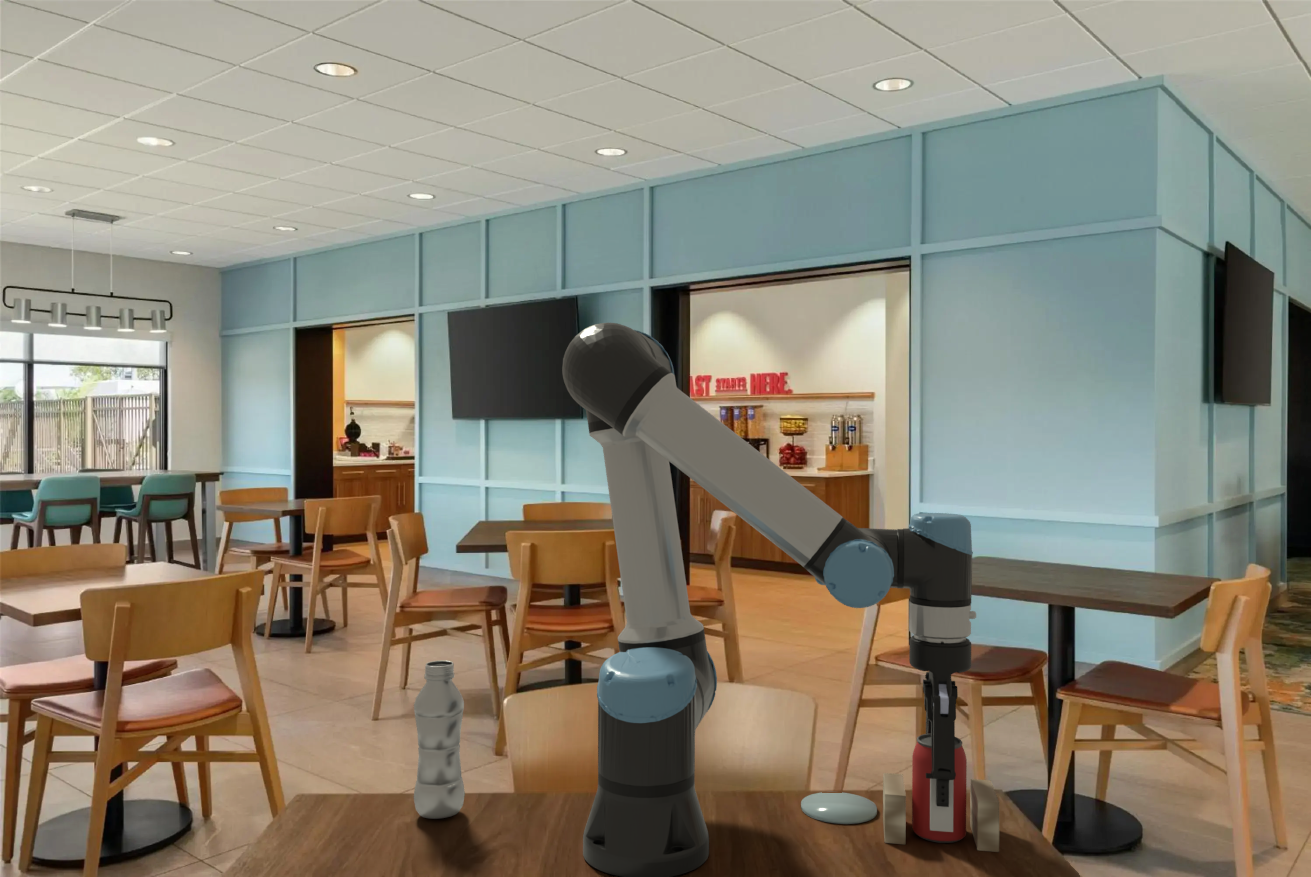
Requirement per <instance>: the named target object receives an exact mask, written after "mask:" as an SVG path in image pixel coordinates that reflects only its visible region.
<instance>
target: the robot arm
mask: <svg viewBox="0 0 1311 877" xmlns="http://www.w3.org/2000/svg"><path fill="white" fill-rule="evenodd" d="M561 369H562V370H561V371H562V378H563V382H564V383H563V384H565V388H566V390H567V392H568V393H569V395H570V397H571V398H572V399H573V400H574V401H575V402H576V404H578V405H579V406H580V407H582V409H583V408H584V410H585V413H586V419H587V420H586V421H587V426H588V434H589V436H590V437H591V438H592V439H593V440H594V441H595V442H597V443H599V444H600V446H601V447H602V452H603V459H604V466H605V473H606V481H607V490H608V496H609V503H610V510H611V515H612V525H613V530H614V531H613V532H614V538H615V545H616V546H615V547H616V552H617V553H616V554H617V561H618V568H619V575H620V581H621V589H622V598H623V603H624V604H623V605H624V611H625V617H626V624H625V627H624V628H623V629H622V631H620V634H619V635H618V636H617V642H618V644H617V645H618V650H619V652H616V653H615V654H613V655H611V656H609V657H608V658H607V659H606V660H605V661H603V663H602V665H601V666H600V669H599V675H598V683H597V687H596V698H597V772H598V773H597V790H596V793H595V796H594V799H593V802H592V805H591V809H590V812H589V814H588V815H589V816H588V818H587V821H586V824H585V827H584V831H583V836H582V855H583V856H582V857H583V858H584V860H585V861H586V863H588V864H589V865H590V866H591V867H593V868H594V869H596V870H598V871H601V872H603V873H606V874H609V875H613V876H617V877H677V876H679V875H684V874H687V873H689V872H691V871H693V870H696V869H697V868H700V867H701V866H702V865H703V864H705V862H706V861H707V860H708V857H709V854H710V844H709V843H710V836H709V835H710V834H709V831H708V828H707V824H706V822H705V817H704V814H703V812H702V808H701V805H700V801H699V799H698V795H697V792H696V787H695V786H696V784H695V783H696V782H695V781H696V780H695V776H696V775H695V771H696V770H695V768H696V765H695V764H696V762H695V761H696V760H695V759H696V758H695V754H696V744H695V743H696V730H697V728H698V727H699V725H700V723H701V722H702V720H703V718H704V717H705V716H706V715H707V713H708V712H709V710H710V709H711V706H712V705H713V702H714V700H715V697H716V692H717V685H718V676H717V670H716V665H715V663H714V662H715V661H714V660H713V658H712V656H711V655H710V652H709V651H708V647H707V641H706V635H705V628H704V623H702V622H701V621H699V620H697V619H696V618H695V617H694V616H693V615H692V613H691V610H690V608H691V607H690V603H689V594H688V588H687V580H686V574H685V564H684V560H683V559H684V558H683V551H682V545H681V537H680V529H679V523H678V516H677V508H676V501H675V494H674V493H675V492H674V488H673V487H674V486H673V480H672V473H671V466H670V463H671V464H672V465H673V466H674V467H675V468H676V469H679V470H680V471H681V472H682V473H684V475H686V476H688V478H690V479H691V480H692V481H693V482H695V483H696V484H697V485H699V486H700V487H701V488H703V489H704V490H705V491H706V492H708V493H709V494H710V495H711V496H712V497H713V498H715V499H717V500H718V502H720V503H722V504H723V505H724V506H725V507H727V508H728V509H729V510H731V512H733V513H734V514H735V515H737V516H738V517H739V518H741V519H742V520H743V521H744V522H746V523H747V524H748V525H749V526H751V527H752V528H753V529H755V530H756V531H757V532H759V533H760V534H761V535H762V536H764V537H765V538H766V539H767V540H769V541H770V542H771V543H772V544H774V545H775V546H776V547H778V548H779V549H780V550H781V551H783V553H786V555H787V556H789V557H790V558H792V559H793V561H795V562H797V563H798V564H799V565H801V566H802V567H803V568H804V569H805V570H806V571H807V572H809V573H810V575H812V576H813V577H814V579H815V581H816V583H817V584H819V585H821V586H825V588H826V589H827V590H828V592H829V593H830V595H831V597H833V598H834V599H835V600H836V601H837V602H839V603H840V604H842V605H844V606H846V607H849V608H854V609H864V608H865V609H866V608H869V607H873V606H874V605H876V604H878V603H879V602H881V601H882V600H883V599H885V597H887V596H886V595H887V594H888V593H889V591H890V589H894V588H895V589H909V601H908V602H909V605H908V606H909V608H908V610H909V613H908V618H909V619H908V631H909V632H910V633H911V634H912V636H911V637H910V638H909V647H908V648H909V650H908V651H909V653H908V656H909V658H908V659H909V660H908V661H909V664H910V666H911V667H912V668H914V669H916V670H918V671H922V672H925V674H924V676H925V677H924V679H922V690H923V691H922V692H923V694H924V699H923V700H924V701H923V703H924V711H925V734H931V748H932V771H931V773H926V778H929V779H930V830H932V831H945V832H953V780H955V777H956V772H955V737H956V735H955V733H956V731H955V728H956V726H955V725H956V724H955V723H956V719H957V708H956V707H957V699H958V695H959V694H958V693H959V692H958V686H957V685H956V681H955V680H952V675H953V674H955V673H957V674H961V673H965V672H968V671H969V670H970V669H971V667H972V641H970V639H969V638H968V637H970V636H971V634H972V622H971V621H970V620H975V619H976V618H977V613H976V611H974V610H972V590H973V589H972V588H973V586H972V585H973V582H972V581H973V554H974V553H973V552H974V551H973V544H972V523H971V521H970V520H969V519H968V518H967V517H966V516H964V515H961V514H956V513H948V512H947V513H946V512H945V513H943V512H942V513H941V512H932V513H931V512H930V513H927V512H921V513H914V514H913V515H911V517H910V519H909V520H910V522H909V524H908V527H907V528H896V529H893V528H892V529H889V528H888V529H887V528H868V527H867V528H866V527H857V526H855V524H854V523H851V522H850V521H849V520H847V519H846V518H845V517H843V516H842V515H841V514H840V513H839V512H837V511H836V510H834V509H833V508H832V507H831V506H830V505H828V504H827V503H825V502H824V501H823V500H822V499H820V498H819V497H818V496H816V494H814V493H813V492H812V491H810V490H809V489H808V488H806V487H805V486H803V484H801V483H800V482H798V481H797V480H796V479H795V478H793V477H792V476H791V475H790V474H788V473H787V472H786V471H785V470H783V469H782V468H781V467H779V466H778V465H777V464H776V463H775V462H773V461H771V460H770V459H769V458H768V457H766V455H764V454H762V453H761V452H760V451H759V450H757V449H756V448H755V447H754V446H752V445H751V444H750V443H748V442H747V441H746V440H745V439H743V438H742V437H741V436H740V435H739V434H737V433H736V432H734V430H732V429H730V427H728V425H726V424H724V423H723V422H722V421H721V420H720V419H718V418H716V417H715V416H714V415H713V414H711V413H710V412H708V411H707V410H706V409H705V408H704V407H703V406H701V405H700V404H699V403H697V402H696V401H695V400H694V399H692V398H691V397H690V396H688V395H687V394H686V393H684V392H683V391H682V390H681V389H679V387H678V386H677V382H676V381H677V380H676V375H675V369H674V366H673V362H672V360H671V358H670V356H669V354H668V352H667V351H666V350H665V348H664V346H663V345H662V344H661V343H659V341H658V340H656V339H655V338H654V337H653V336H651V335H649V334H648V333H645V332H642V331H640V330H636V329H633V328H631V327H630V326H626V325H624V324H621V323H616V322H601V323H595V324H593V325H590V326H588V327H586V328H584V329H583V330H581V331H580V332H579V333H578V334H576V335H575V336H574V337H573V339H572V340H571V341H570V342H569V344H568V346H567V348H566V350H565V352H564V355H563V358H562V367H561ZM944 768H945V769H944Z"/></svg>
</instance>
